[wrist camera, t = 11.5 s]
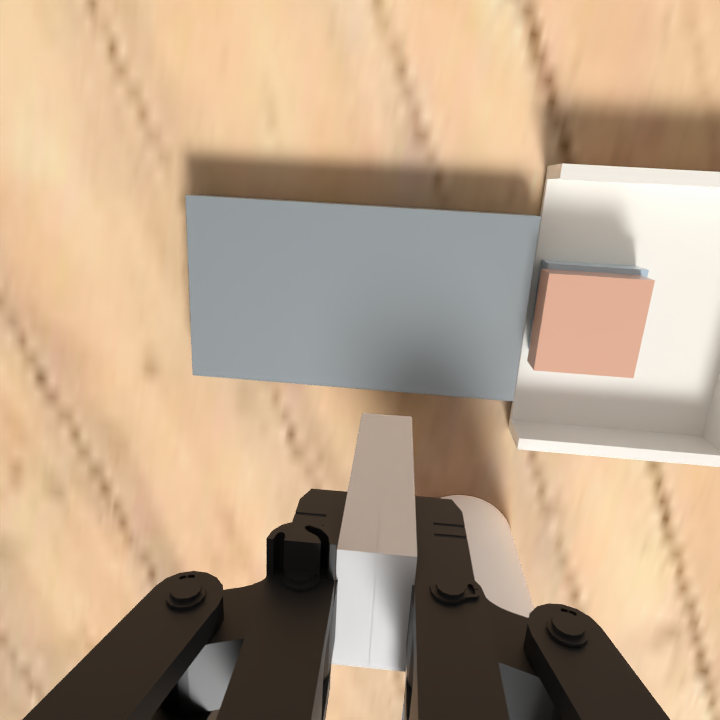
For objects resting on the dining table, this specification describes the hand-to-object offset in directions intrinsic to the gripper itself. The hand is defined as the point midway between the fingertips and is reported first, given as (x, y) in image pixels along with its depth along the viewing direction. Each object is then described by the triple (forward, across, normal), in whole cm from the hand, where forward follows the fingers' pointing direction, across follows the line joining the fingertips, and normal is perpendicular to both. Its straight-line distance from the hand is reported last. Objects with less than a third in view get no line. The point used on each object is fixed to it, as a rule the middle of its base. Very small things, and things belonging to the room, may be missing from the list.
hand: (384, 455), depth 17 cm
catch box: (+22, +16, +1) cm, 27 cm away
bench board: (+22, -3, +1) cm, 22 cm away
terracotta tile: (+20, +12, 0) cm, 23 cm away
